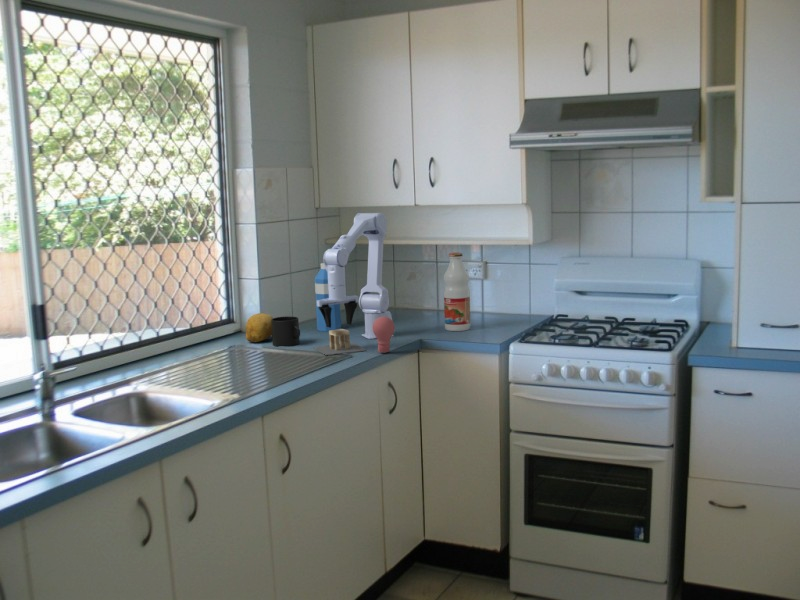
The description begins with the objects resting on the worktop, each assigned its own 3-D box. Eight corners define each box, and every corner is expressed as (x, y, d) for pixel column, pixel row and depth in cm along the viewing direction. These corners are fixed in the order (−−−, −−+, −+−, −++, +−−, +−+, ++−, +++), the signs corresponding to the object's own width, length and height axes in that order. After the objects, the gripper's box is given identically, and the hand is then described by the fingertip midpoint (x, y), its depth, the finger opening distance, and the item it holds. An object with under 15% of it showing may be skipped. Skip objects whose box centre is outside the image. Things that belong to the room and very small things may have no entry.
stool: (343, 346, 288) (342, 328, 287) (350, 348, 283) (349, 330, 282) (329, 348, 285) (328, 330, 284) (336, 350, 281) (335, 332, 280)
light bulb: (396, 354, 273) (394, 318, 271) (374, 356, 272) (372, 319, 271) (394, 350, 280) (393, 314, 278) (373, 351, 279) (371, 315, 278)
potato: (239, 343, 301) (237, 315, 300) (259, 336, 312) (257, 310, 311) (263, 345, 297) (261, 316, 295) (283, 338, 308) (281, 311, 307)
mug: (290, 348, 289) (288, 322, 287) (266, 345, 296) (265, 319, 295) (310, 343, 296) (309, 318, 294) (287, 340, 304) (285, 315, 302)
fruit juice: (475, 329, 312) (474, 252, 307) (456, 332, 306) (453, 255, 302) (459, 325, 319) (457, 251, 315) (439, 329, 314) (437, 253, 310)
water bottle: (344, 326, 327) (341, 261, 323) (338, 331, 318) (334, 264, 314) (320, 326, 328) (317, 262, 325) (313, 331, 319) (310, 264, 316)
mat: (353, 343, 293) (353, 342, 293) (366, 351, 280) (366, 349, 280) (314, 348, 288) (313, 347, 288) (325, 355, 275) (325, 354, 275)
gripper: (350, 281, 288) (352, 321, 290) (311, 286, 281) (314, 326, 283) (360, 283, 282) (362, 324, 284) (321, 288, 275) (323, 329, 277)
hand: (339, 325), depth 283 cm, fingers open, 7 cm apart
